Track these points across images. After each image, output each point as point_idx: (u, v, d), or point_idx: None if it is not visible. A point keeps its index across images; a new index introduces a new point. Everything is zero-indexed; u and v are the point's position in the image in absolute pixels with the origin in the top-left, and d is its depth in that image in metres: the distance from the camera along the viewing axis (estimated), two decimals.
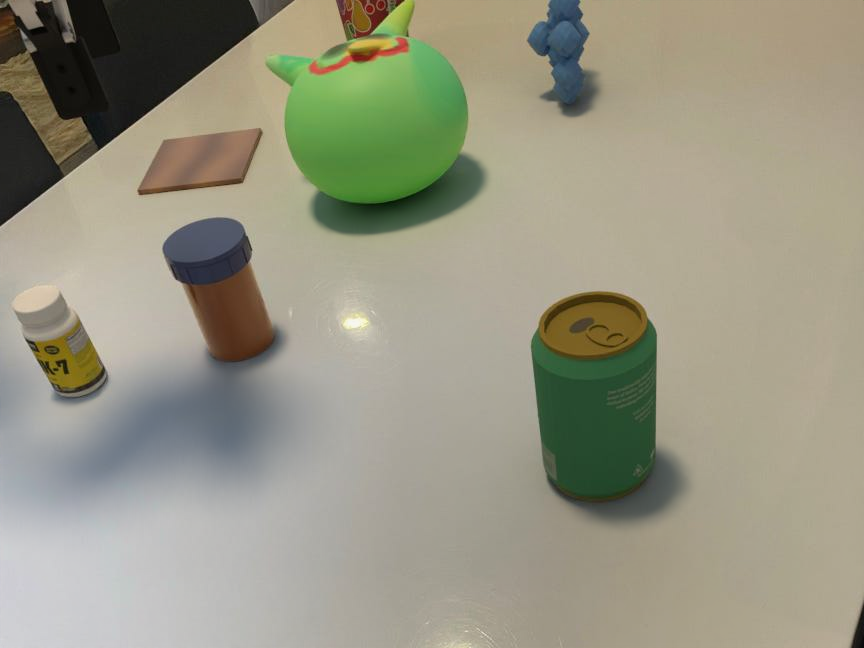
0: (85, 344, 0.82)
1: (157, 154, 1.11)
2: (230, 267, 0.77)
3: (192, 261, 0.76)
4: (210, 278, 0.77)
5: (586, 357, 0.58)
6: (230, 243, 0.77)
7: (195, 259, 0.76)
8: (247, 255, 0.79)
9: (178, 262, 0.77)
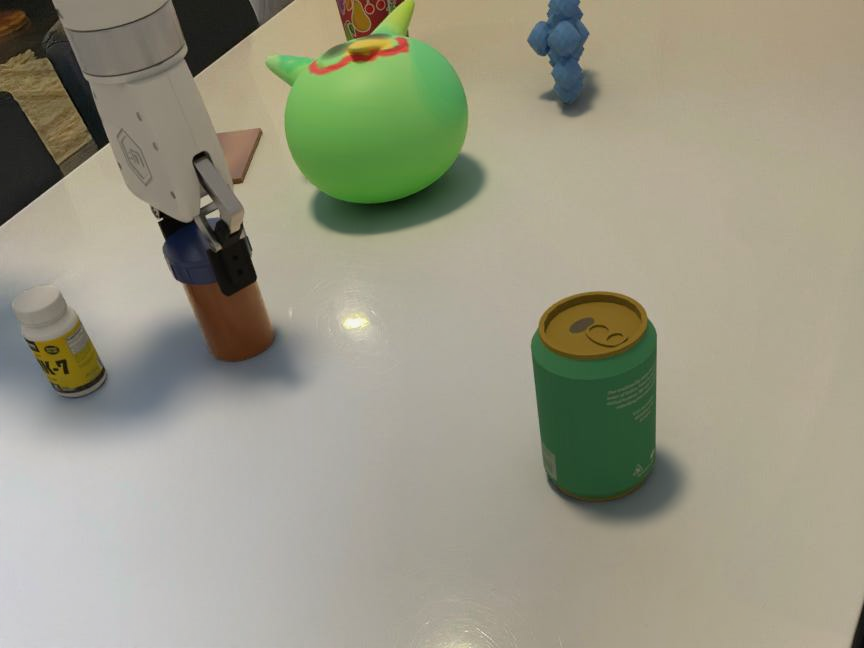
0: (85, 344, 0.82)
1: None
2: None
3: (192, 261, 0.76)
4: (210, 278, 0.77)
5: (586, 357, 0.58)
6: None
7: (195, 259, 0.76)
8: None
9: (178, 262, 0.77)
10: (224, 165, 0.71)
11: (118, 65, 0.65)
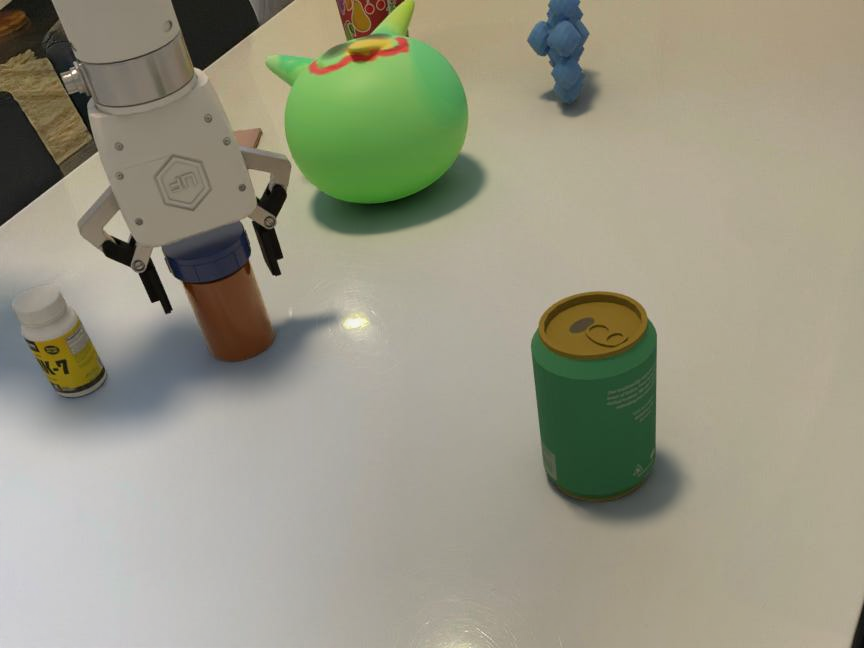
0: (85, 344, 0.82)
1: None
2: (247, 238, 0.80)
3: (235, 240, 0.77)
4: (248, 252, 0.79)
5: (586, 357, 0.58)
6: None
7: (234, 239, 0.77)
8: None
9: (226, 249, 0.76)
10: None
11: (185, 73, 0.68)
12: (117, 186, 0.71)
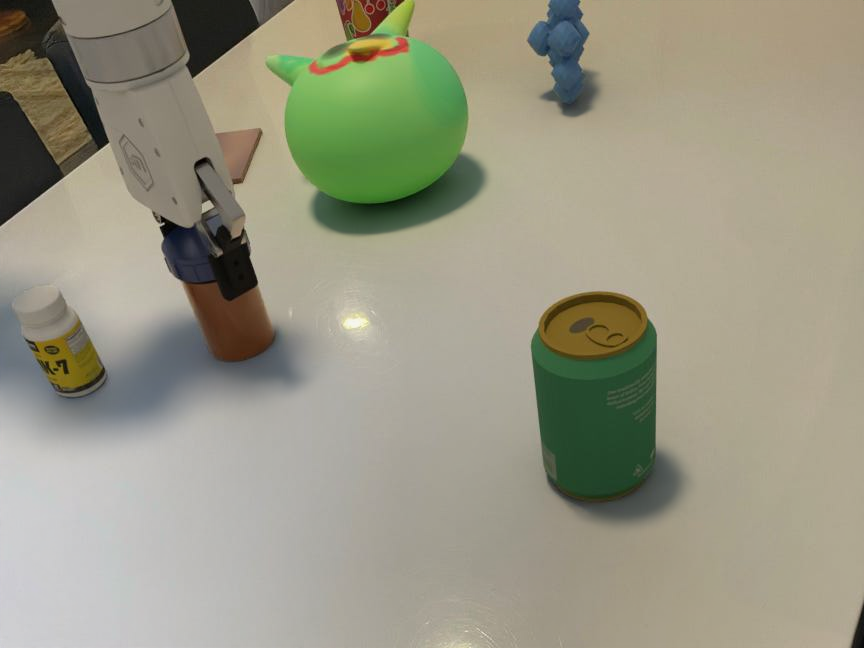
0: (85, 344, 0.82)
1: None
2: (247, 237, 0.80)
3: None
4: (248, 251, 0.79)
5: (586, 357, 0.58)
6: None
7: None
8: None
9: None
10: (226, 171, 0.71)
11: (120, 72, 0.65)
12: None
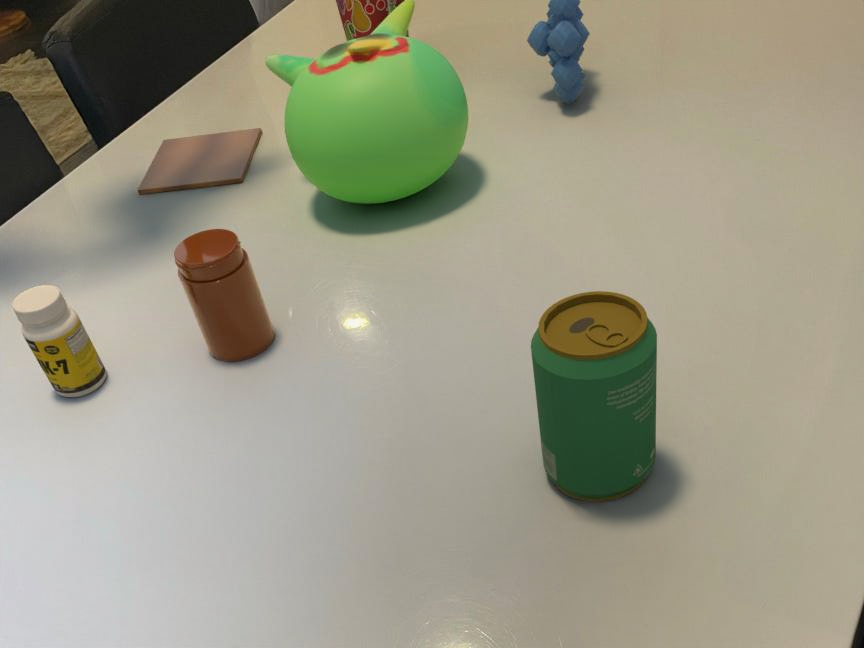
0: (85, 344, 0.82)
1: (157, 154, 1.11)
2: None
3: None
4: None
5: (586, 357, 0.58)
6: None
7: None
8: None
9: None
10: None
11: None
12: None
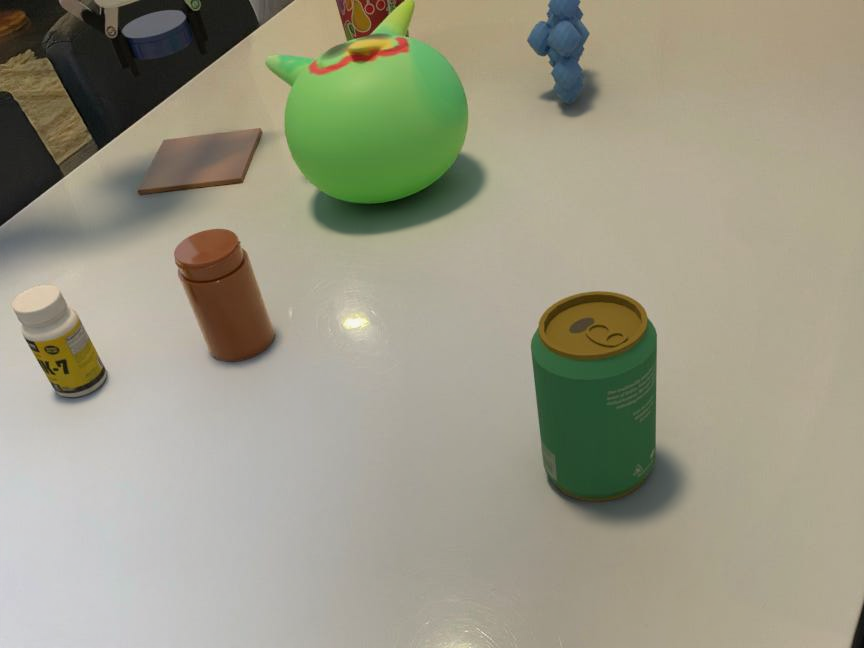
0: (85, 344, 0.82)
1: (157, 154, 1.11)
2: None
3: (178, 11, 1.00)
4: None
5: (586, 357, 0.58)
6: (146, 17, 1.00)
7: (175, 11, 1.00)
8: None
9: None
10: None
11: None
12: None
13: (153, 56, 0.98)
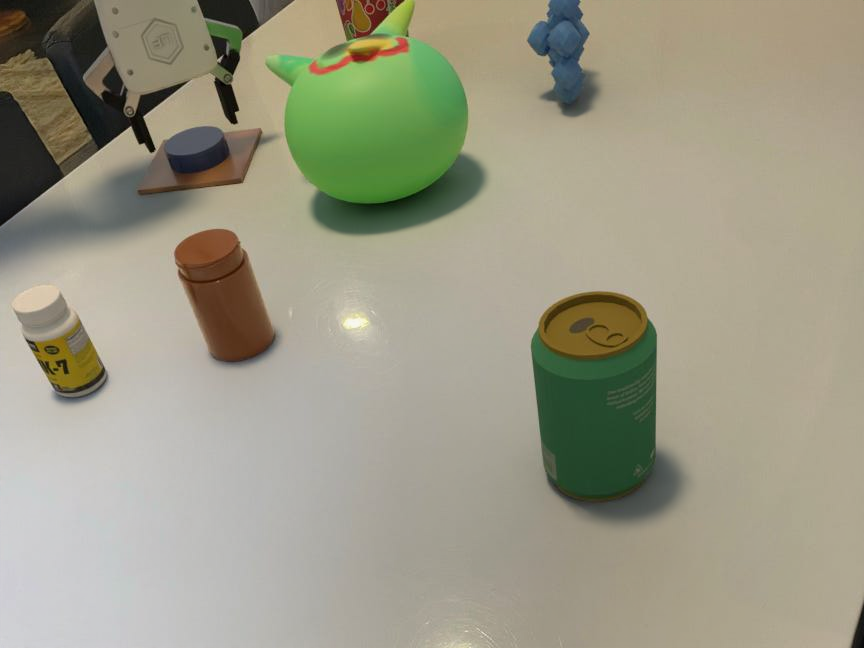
0: (85, 344, 0.82)
1: (157, 154, 1.11)
2: None
3: (215, 127, 1.09)
4: None
5: (586, 357, 0.58)
6: (185, 132, 1.09)
7: (212, 128, 1.09)
8: None
9: (221, 130, 1.08)
10: None
11: None
12: (114, 43, 0.96)
13: (192, 170, 1.07)
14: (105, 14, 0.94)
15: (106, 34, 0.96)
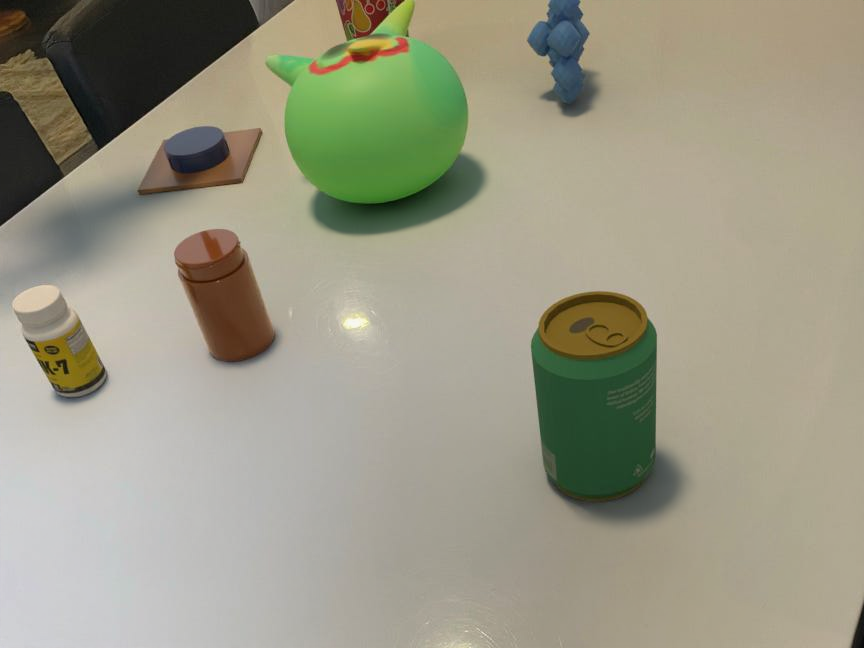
0: (85, 344, 0.82)
1: (157, 154, 1.11)
2: None
3: (215, 127, 1.09)
4: None
5: (586, 357, 0.58)
6: (185, 132, 1.09)
7: (212, 128, 1.09)
8: None
9: (221, 130, 1.08)
10: None
11: None
12: None
13: (192, 170, 1.07)
14: None
15: None
